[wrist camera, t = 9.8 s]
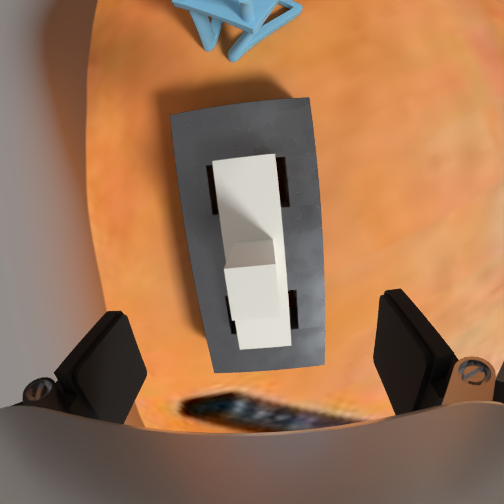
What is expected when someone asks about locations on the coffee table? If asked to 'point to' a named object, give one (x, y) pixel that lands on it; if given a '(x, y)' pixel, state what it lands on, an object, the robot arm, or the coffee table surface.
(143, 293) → the coffee table surface
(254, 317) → the white stepped block
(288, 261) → the slotted plate
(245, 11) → the chair
